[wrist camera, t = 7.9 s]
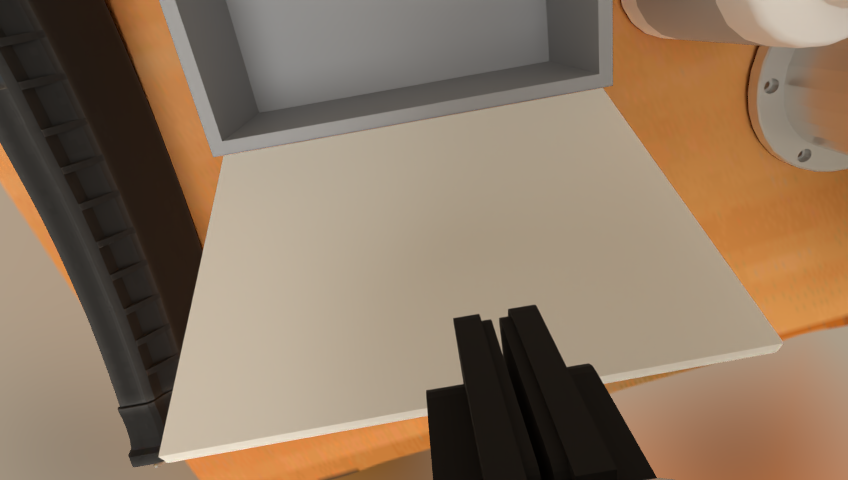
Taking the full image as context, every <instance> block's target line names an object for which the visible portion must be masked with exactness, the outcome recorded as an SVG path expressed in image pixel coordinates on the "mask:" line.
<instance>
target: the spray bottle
mask: <svg viewBox="0 0 848 480" xmlns="http://www.w3.org/2000/svg"><path fill="white" fill-rule="evenodd" d="M621 2H622V7H623V9H624V10H625V12H626V14H627V15H628V17H629V19H630V20H631V22H632V23H633V24H634V25H635V26H637V27H638V28H639V29H640V30H642V31H643V32H644V33H645V34H649V35H652V36H656V37H659V38H664V39H678V40H692V41H706V42H719V43H733V44H747V45H761V46H774V47H788V48H807V47H819V46H827V45H831V44H833V43H836V42H838V41H841V40H843V39H846V38H848V0H621Z"/></svg>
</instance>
